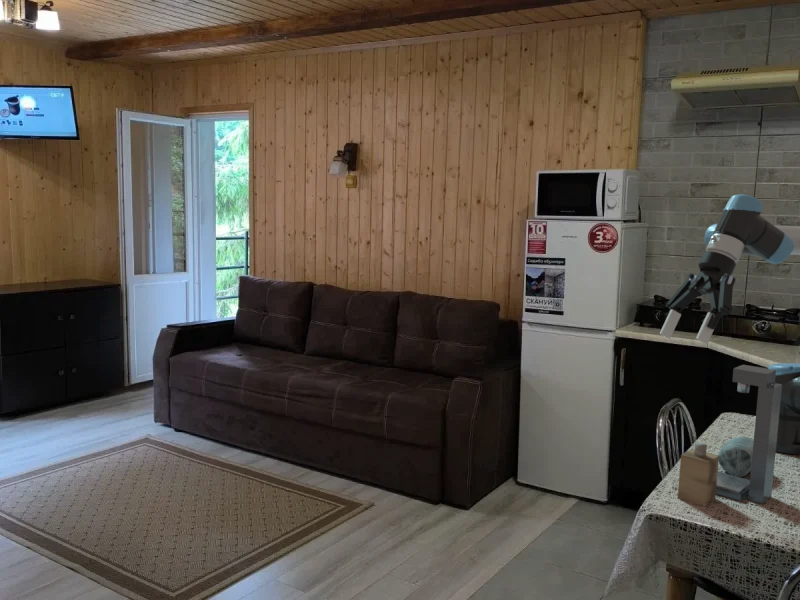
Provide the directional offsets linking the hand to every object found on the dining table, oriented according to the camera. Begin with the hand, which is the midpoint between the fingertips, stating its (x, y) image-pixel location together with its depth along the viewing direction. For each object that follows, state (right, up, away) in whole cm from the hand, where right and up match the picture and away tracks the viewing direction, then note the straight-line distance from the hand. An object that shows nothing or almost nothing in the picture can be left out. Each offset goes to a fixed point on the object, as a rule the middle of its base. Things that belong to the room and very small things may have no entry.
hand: (682, 338), depth 164 cm
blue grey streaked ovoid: (+19, -34, +12) cm, 41 cm away
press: (+12, -35, -1) cm, 37 cm away
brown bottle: (+1, -35, -5) cm, 36 cm away
